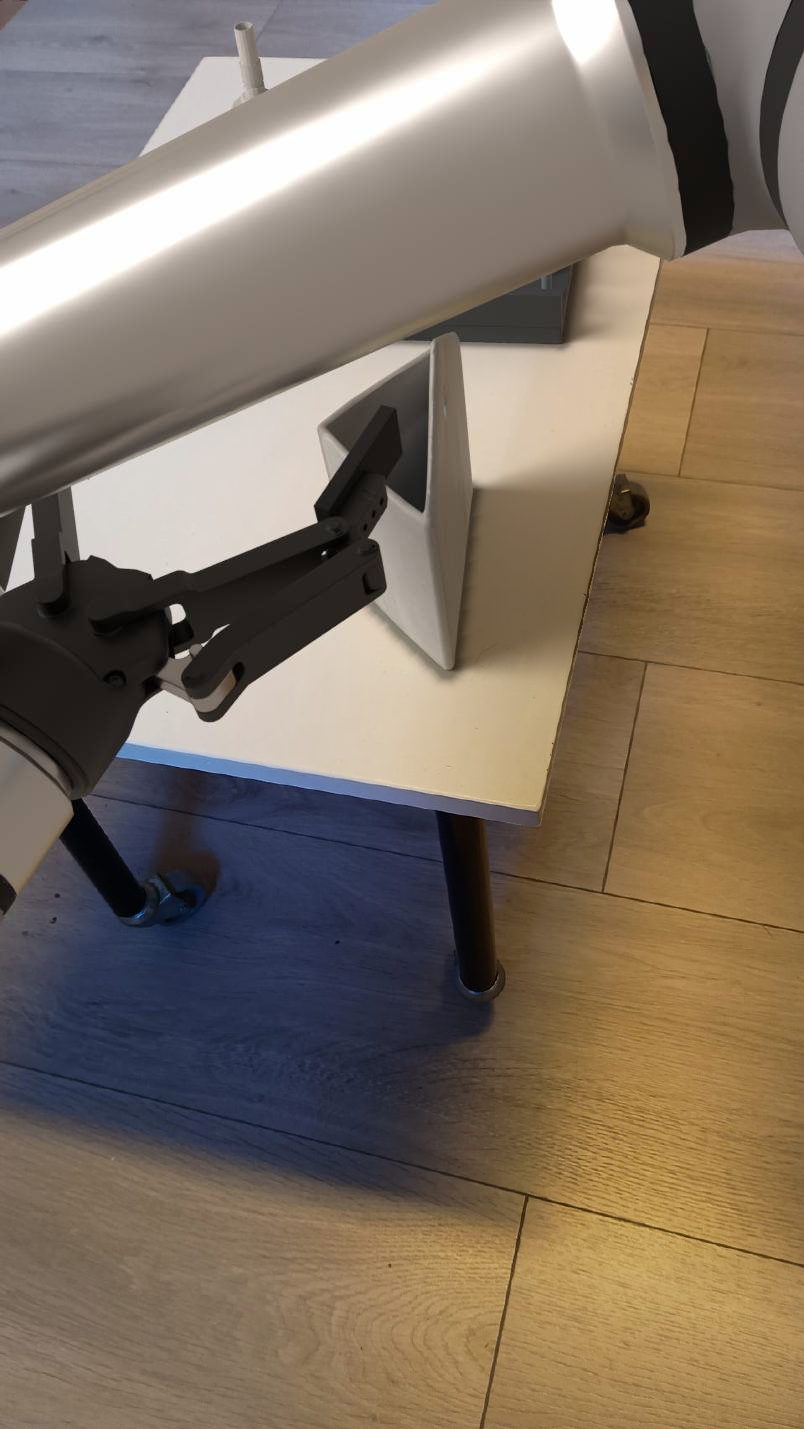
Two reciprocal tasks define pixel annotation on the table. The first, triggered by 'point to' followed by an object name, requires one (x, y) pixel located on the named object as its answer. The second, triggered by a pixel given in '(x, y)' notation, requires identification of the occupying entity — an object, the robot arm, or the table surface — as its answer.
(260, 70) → the electronic device
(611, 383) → the table surface
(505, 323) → the dish rack
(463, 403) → the planter
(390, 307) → the robot arm
